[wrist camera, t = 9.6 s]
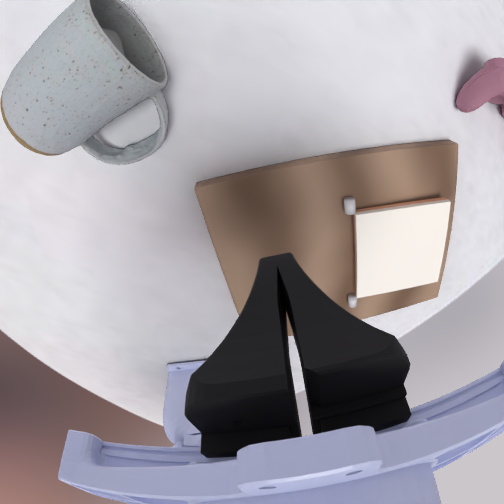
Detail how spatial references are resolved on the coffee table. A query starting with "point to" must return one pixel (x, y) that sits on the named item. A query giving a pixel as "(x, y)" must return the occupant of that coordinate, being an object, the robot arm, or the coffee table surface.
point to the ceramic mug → (85, 82)
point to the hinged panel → (397, 245)
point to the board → (322, 216)
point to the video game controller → (483, 87)
